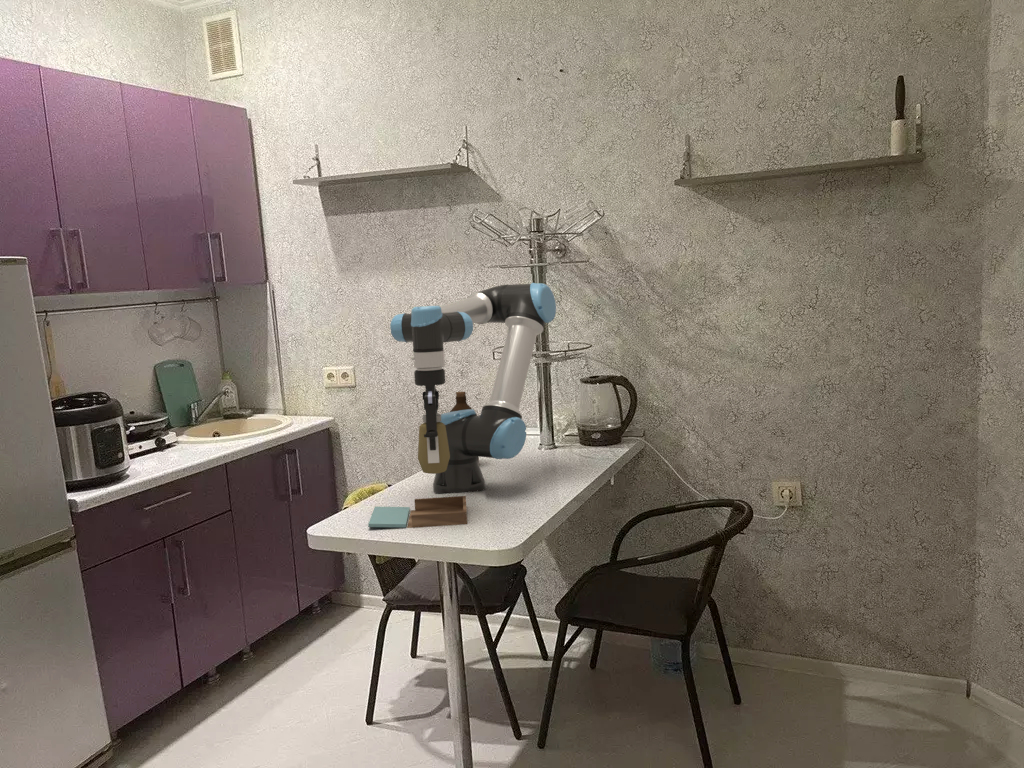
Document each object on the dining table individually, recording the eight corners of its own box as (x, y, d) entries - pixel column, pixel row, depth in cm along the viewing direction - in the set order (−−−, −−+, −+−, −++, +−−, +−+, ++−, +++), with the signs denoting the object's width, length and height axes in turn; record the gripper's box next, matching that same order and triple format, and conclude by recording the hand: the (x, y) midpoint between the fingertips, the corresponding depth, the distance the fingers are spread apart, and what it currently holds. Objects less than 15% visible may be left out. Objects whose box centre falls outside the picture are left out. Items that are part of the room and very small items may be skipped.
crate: (410, 514, 200) (410, 499, 200) (466, 510, 201) (465, 495, 201) (407, 531, 185) (406, 515, 185) (467, 527, 186) (466, 512, 186)
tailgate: (409, 510, 200) (374, 509, 200) (409, 507, 200) (374, 506, 199) (405, 527, 185) (368, 526, 184) (405, 524, 185) (368, 523, 184)
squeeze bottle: (445, 475, 187) (441, 402, 185) (413, 475, 189) (409, 403, 187) (454, 468, 195) (451, 398, 193) (424, 467, 197) (421, 398, 194)
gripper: (416, 365, 199) (421, 451, 201) (411, 373, 178) (417, 469, 181) (445, 364, 199) (449, 449, 202) (443, 371, 179) (448, 467, 181)
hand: (434, 458), depth 191 cm, fingers closed on squeeze bottle, 8 cm apart
